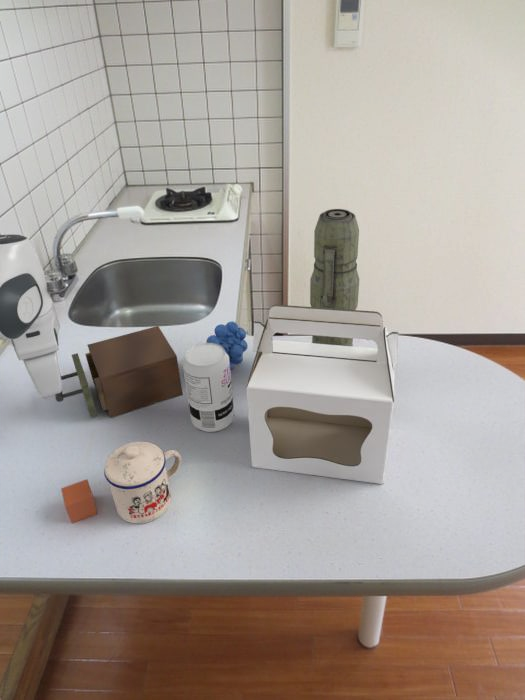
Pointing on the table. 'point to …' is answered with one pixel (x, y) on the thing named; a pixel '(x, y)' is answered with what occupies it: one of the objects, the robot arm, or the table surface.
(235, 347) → the grapes
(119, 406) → the cabinet
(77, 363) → the drawer
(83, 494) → the block
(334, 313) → the gable box
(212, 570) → the table surface
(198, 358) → the supplement can
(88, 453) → the table surface
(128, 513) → the teacup with lid
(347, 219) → the thermos
